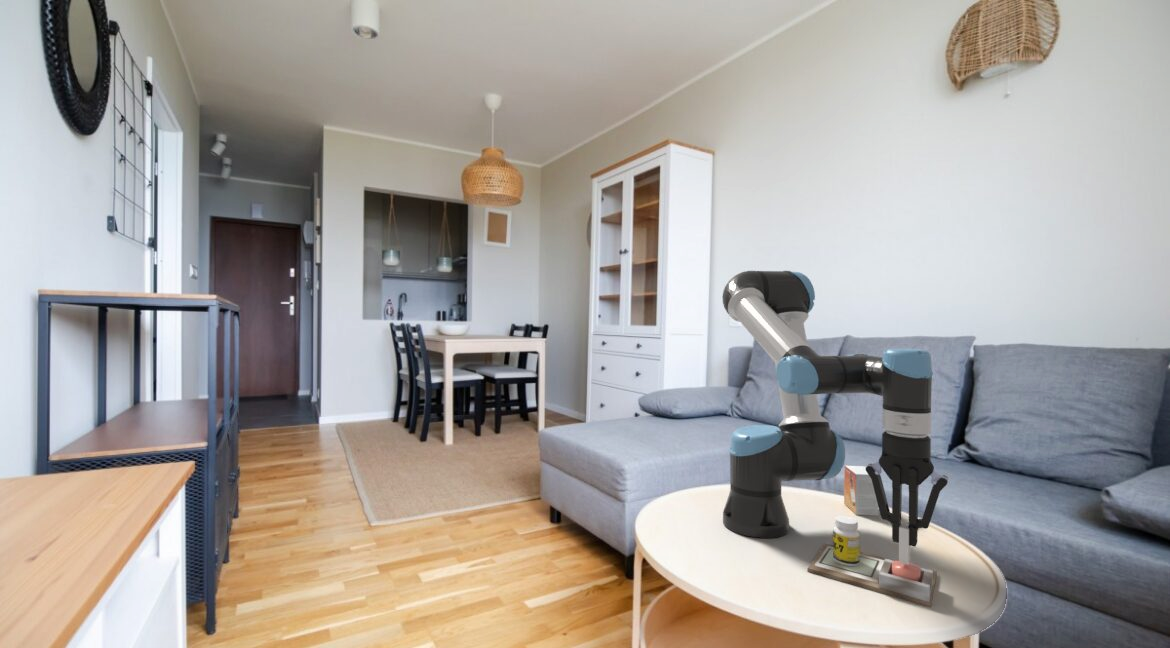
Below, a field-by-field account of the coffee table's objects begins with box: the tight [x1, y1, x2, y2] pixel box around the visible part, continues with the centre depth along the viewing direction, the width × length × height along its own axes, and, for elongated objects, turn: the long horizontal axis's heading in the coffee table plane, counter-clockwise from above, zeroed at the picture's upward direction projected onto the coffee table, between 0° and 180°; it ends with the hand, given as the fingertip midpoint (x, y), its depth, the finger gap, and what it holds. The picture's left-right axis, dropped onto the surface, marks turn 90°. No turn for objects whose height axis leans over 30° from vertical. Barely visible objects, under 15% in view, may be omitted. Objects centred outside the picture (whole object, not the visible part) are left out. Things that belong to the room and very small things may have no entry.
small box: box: [843, 465, 879, 517], centre depth 132 cm, size 8×6×10 cm
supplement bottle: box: [832, 515, 861, 566], centre depth 102 cm, size 5×5×8 cm
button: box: [892, 560, 920, 582], centre depth 92 cm, size 4×4×3 cm
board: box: [806, 543, 938, 608], centre depth 99 cm, size 20×14×3 cm
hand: (904, 560), depth 93 cm, fingers closed
